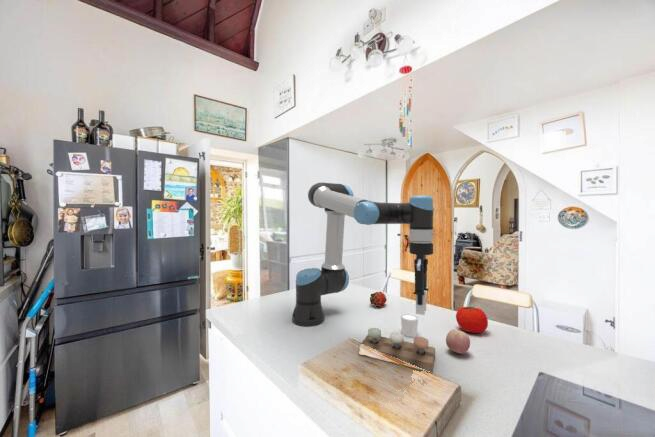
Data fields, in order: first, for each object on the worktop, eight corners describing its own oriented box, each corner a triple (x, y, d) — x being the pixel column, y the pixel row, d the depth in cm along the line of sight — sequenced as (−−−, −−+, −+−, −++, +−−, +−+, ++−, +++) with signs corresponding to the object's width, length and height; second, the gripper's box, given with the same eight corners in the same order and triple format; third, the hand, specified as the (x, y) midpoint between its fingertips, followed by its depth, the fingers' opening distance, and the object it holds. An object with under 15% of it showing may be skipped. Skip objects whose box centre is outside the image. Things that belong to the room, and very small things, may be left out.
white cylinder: (418, 331, 110) (418, 315, 110) (418, 338, 104) (418, 321, 104) (401, 329, 113) (401, 313, 112) (400, 336, 106) (400, 319, 106)
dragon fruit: (371, 312, 138) (381, 309, 147) (384, 304, 134) (393, 302, 143) (363, 296, 141) (374, 295, 151) (376, 289, 138) (385, 288, 147)
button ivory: (388, 352, 90) (388, 336, 90) (391, 346, 94) (391, 331, 94) (402, 355, 88) (402, 339, 88) (404, 349, 92) (404, 333, 92)
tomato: (485, 328, 114) (486, 304, 114) (489, 339, 103) (489, 313, 103) (455, 323, 119) (455, 300, 119) (456, 333, 108) (456, 309, 108)
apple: (469, 361, 87) (469, 337, 87) (444, 355, 92) (444, 332, 92) (470, 351, 94) (470, 329, 94) (447, 345, 98) (447, 324, 98)
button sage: (366, 347, 94) (366, 331, 94) (370, 341, 98) (370, 326, 98) (379, 349, 92) (379, 334, 92) (382, 344, 96) (382, 329, 96)
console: (358, 354, 92) (358, 346, 92) (368, 341, 102) (368, 333, 102) (432, 373, 81) (432, 363, 81) (435, 356, 91) (435, 347, 91)
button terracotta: (412, 357, 87) (412, 341, 87) (414, 351, 91) (414, 335, 91) (427, 361, 84) (427, 344, 84) (429, 354, 89) (429, 338, 89)
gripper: (430, 244, 78) (430, 322, 79) (435, 240, 93) (435, 306, 93) (405, 243, 82) (404, 318, 82) (413, 239, 96) (413, 303, 97)
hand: (421, 311), depth 88 cm, fingers open, 3 cm apart
